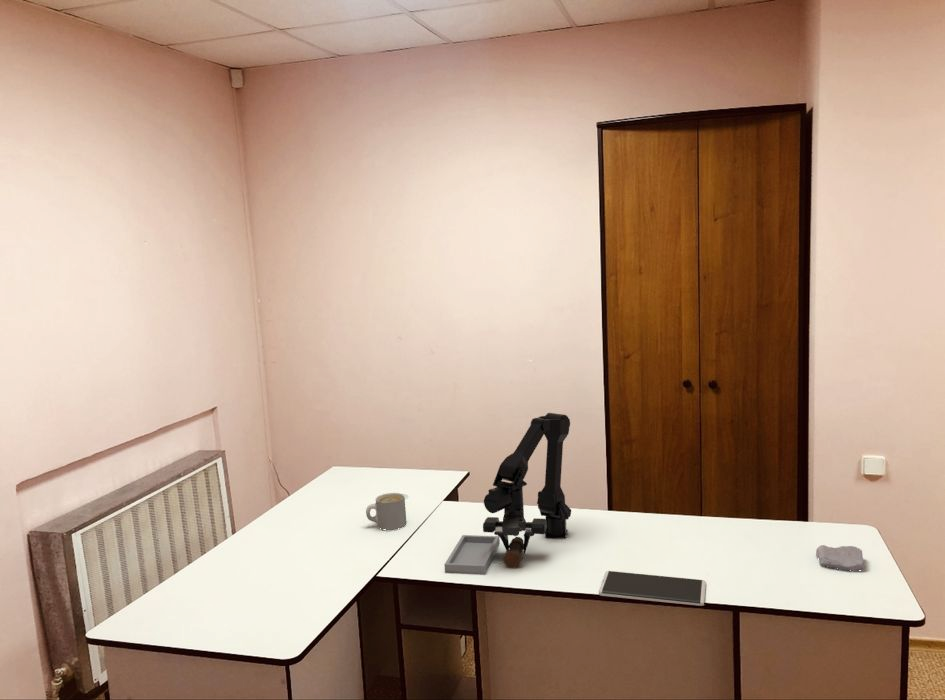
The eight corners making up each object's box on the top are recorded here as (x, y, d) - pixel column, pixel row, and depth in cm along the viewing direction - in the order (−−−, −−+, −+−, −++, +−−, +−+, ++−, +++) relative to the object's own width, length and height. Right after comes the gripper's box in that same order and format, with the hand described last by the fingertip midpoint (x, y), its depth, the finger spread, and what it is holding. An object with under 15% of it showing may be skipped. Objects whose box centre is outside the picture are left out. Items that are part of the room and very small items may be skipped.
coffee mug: (408, 519, 262) (406, 492, 260) (404, 530, 252) (402, 502, 250) (370, 520, 262) (368, 493, 261) (365, 531, 253) (362, 503, 251)
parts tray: (499, 543, 236) (499, 536, 235) (485, 574, 215) (484, 566, 214) (463, 542, 238) (462, 535, 238) (444, 572, 217) (444, 564, 217)
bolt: (521, 552, 232) (515, 572, 217) (507, 544, 233) (500, 563, 218) (530, 537, 231) (524, 555, 216) (515, 529, 232) (508, 547, 217)
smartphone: (704, 608, 189) (704, 602, 189) (598, 597, 198) (598, 591, 198) (706, 585, 201) (705, 579, 201) (606, 575, 210) (605, 569, 210)
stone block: (867, 579, 202) (861, 557, 211) (867, 564, 200) (861, 543, 209) (819, 577, 206) (815, 555, 215) (819, 562, 204) (815, 541, 213)
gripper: (477, 511, 217) (480, 562, 220) (540, 513, 213) (543, 565, 215) (485, 498, 228) (488, 547, 230) (546, 500, 224) (548, 549, 226)
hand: (516, 552), depth 225 cm, fingers closed on bolt, 5 cm apart
